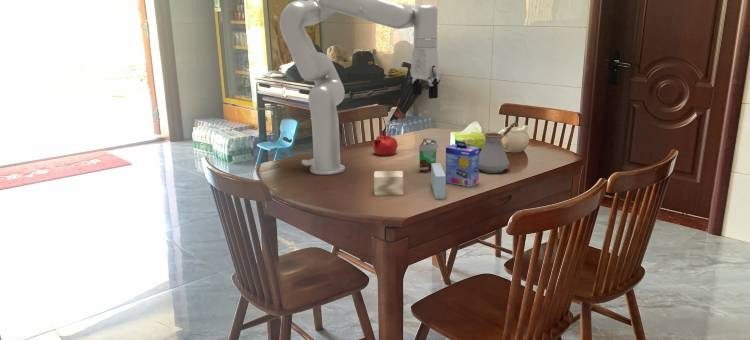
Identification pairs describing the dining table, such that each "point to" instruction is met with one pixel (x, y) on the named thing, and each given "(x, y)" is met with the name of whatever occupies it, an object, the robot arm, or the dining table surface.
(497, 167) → the coffee pot
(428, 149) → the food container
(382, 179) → the block
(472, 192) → the dining table surface
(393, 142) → the pomegranate
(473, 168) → the ink cartridge box
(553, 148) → the dining table surface
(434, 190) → the board
